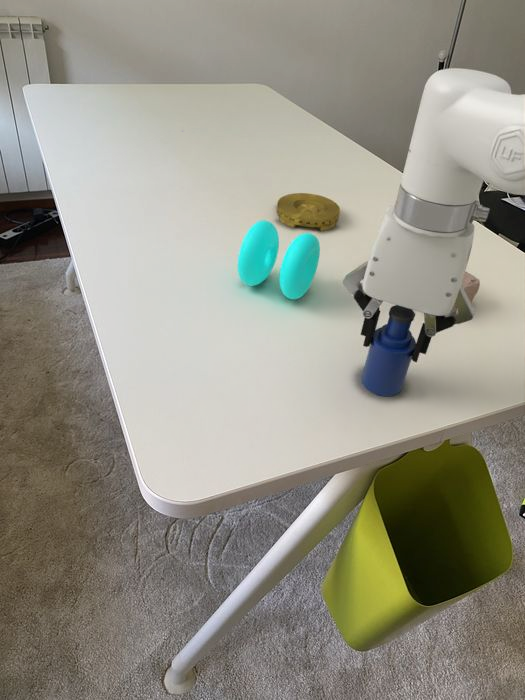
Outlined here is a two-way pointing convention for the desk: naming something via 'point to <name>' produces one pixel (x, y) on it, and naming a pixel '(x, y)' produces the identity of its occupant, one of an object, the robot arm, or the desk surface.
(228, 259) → the desk surface
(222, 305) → the desk surface
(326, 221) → the compass
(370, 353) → the bottle
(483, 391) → the desk surface
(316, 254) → the pair of turquoise discs
